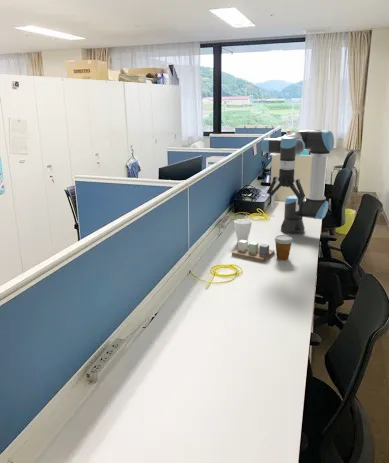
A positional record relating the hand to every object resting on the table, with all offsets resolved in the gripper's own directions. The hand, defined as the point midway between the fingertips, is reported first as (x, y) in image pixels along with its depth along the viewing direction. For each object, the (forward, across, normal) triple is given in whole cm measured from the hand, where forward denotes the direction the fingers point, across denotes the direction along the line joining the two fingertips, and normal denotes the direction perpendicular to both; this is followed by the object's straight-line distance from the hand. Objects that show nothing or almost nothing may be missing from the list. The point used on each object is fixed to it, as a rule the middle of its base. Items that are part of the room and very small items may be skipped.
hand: (284, 208), depth 215 cm
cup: (+28, -30, +11) cm, 43 cm away
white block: (+26, -22, -4) cm, 34 cm away
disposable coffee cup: (+28, 0, 0) cm, 28 cm away
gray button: (+26, -9, -4) cm, 28 cm away
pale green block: (+26, -16, -4) cm, 31 cm away
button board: (+28, -16, -4) cm, 32 cm away
